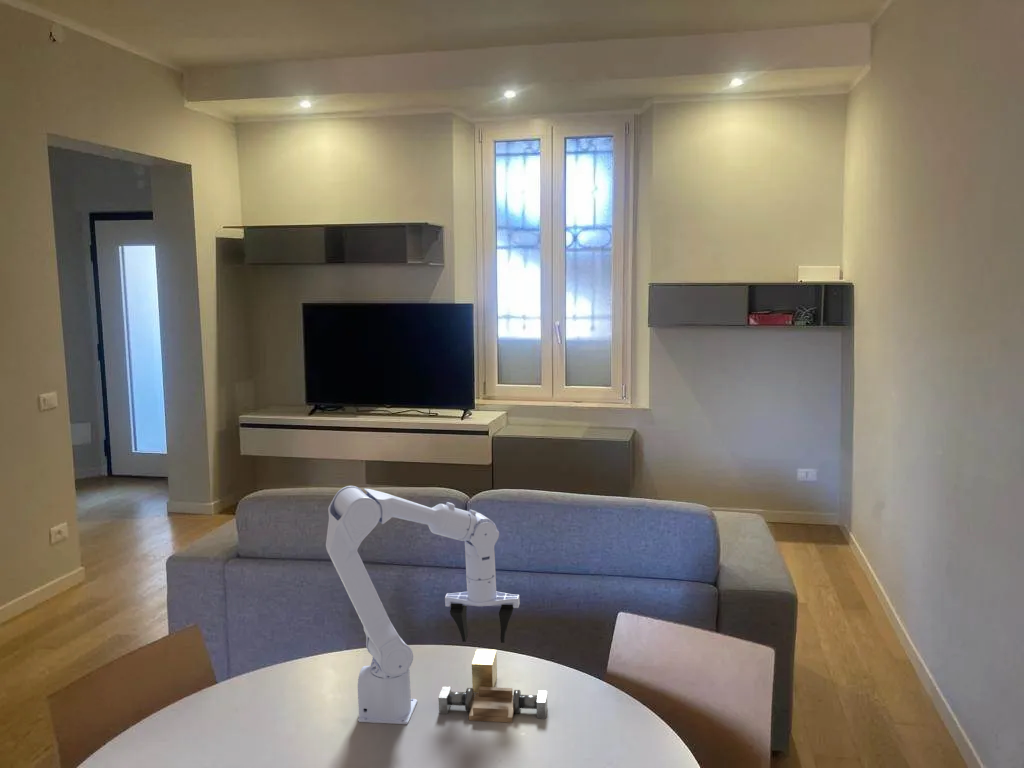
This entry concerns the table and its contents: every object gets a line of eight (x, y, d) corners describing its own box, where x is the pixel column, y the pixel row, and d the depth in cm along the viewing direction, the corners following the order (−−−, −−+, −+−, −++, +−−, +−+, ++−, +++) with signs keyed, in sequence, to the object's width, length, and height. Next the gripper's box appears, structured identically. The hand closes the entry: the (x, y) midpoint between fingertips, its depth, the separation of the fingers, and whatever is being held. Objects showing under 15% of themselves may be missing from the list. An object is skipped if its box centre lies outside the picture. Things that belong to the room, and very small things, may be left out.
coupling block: (492, 693, 157) (491, 664, 156) (472, 692, 157) (471, 663, 156) (497, 677, 163) (496, 650, 162) (477, 676, 163) (476, 649, 162)
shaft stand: (437, 719, 148) (436, 698, 148) (445, 697, 156) (444, 677, 155) (544, 724, 146) (544, 703, 145) (548, 701, 153) (547, 682, 153)
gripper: (520, 567, 159) (523, 631, 161) (448, 566, 161) (452, 629, 163) (515, 581, 152) (518, 648, 154) (441, 580, 154) (444, 646, 156)
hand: (484, 639), depth 158 cm, fingers open, 7 cm apart
